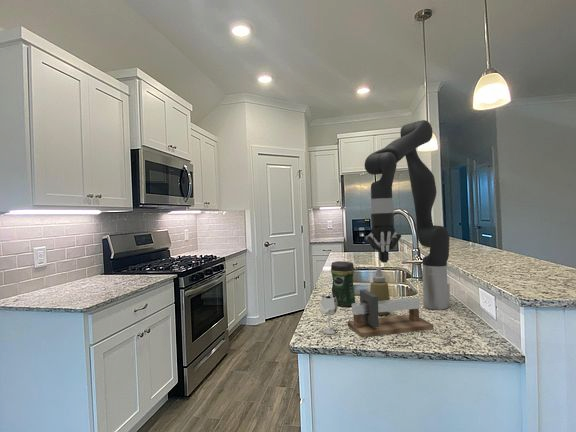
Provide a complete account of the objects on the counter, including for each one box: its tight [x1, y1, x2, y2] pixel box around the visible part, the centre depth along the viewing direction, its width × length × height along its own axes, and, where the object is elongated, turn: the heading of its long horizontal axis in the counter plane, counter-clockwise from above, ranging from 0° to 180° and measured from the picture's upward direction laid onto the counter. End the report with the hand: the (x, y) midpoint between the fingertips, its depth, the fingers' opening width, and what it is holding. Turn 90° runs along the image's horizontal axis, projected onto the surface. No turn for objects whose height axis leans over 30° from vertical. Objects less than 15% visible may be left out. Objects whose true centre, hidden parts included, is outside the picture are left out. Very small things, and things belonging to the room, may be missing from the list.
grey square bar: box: [351, 297, 421, 315], centre depth 120 cm, size 24×4×4 cm, turn 102°
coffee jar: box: [330, 260, 356, 307], centre depth 149 cm, size 10×8×19 cm
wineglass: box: [319, 294, 338, 335], centre depth 118 cm, size 6×6×12 cm
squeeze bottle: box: [369, 266, 391, 316], centre depth 135 cm, size 8×8×18 cm
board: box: [347, 308, 435, 338], centre depth 120 cm, size 26×12×6 cm, turn 102°
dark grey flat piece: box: [359, 289, 379, 327], centre depth 118 cm, size 2×10×10 cm, turn 12°
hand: (383, 262), depth 119 cm, fingers closed
